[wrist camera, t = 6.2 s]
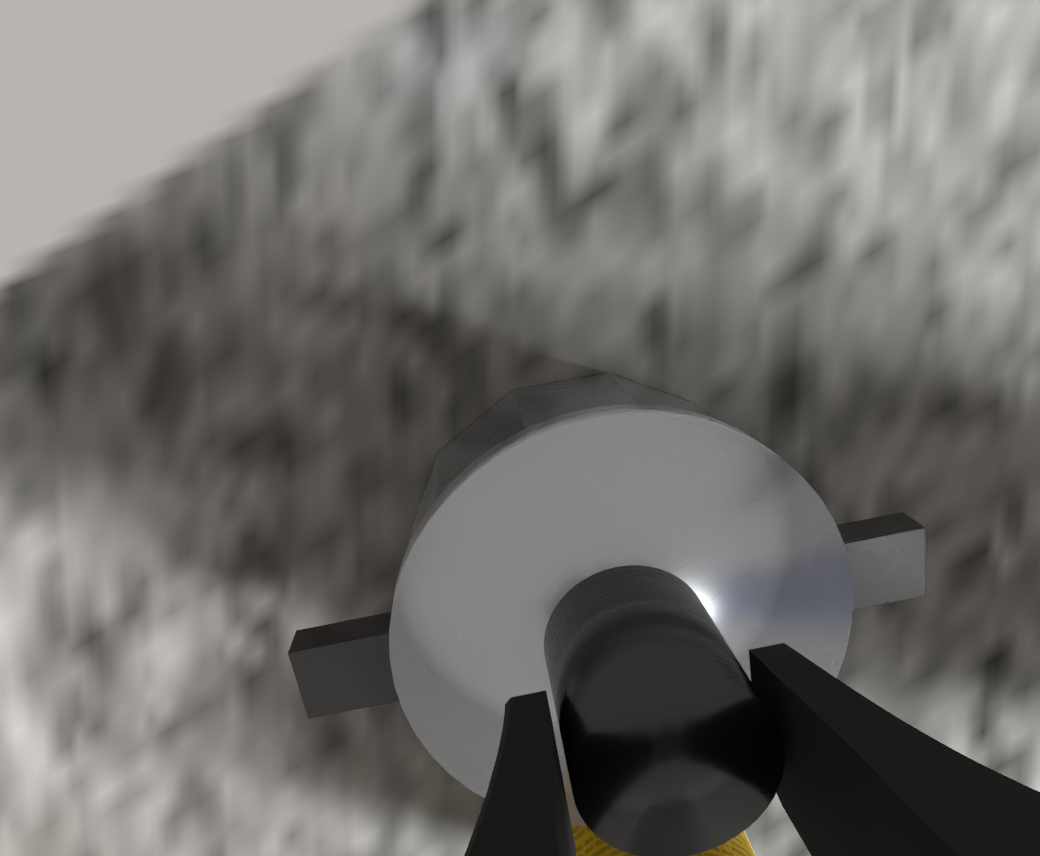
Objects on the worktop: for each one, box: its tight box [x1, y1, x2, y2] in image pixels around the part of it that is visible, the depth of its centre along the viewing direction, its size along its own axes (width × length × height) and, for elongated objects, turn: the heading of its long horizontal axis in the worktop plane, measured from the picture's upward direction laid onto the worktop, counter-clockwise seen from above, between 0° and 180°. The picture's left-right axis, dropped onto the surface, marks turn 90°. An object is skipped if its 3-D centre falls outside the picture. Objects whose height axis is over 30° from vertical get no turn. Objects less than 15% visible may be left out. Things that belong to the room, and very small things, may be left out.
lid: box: [389, 404, 854, 856], centre depth 13 cm, size 9×9×4 cm
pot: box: [288, 373, 926, 718], centre depth 17 cm, size 13×9×4 cm, turn 99°
